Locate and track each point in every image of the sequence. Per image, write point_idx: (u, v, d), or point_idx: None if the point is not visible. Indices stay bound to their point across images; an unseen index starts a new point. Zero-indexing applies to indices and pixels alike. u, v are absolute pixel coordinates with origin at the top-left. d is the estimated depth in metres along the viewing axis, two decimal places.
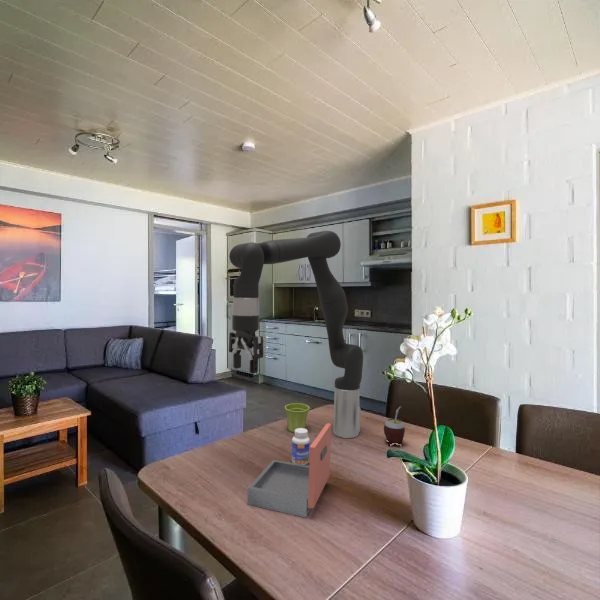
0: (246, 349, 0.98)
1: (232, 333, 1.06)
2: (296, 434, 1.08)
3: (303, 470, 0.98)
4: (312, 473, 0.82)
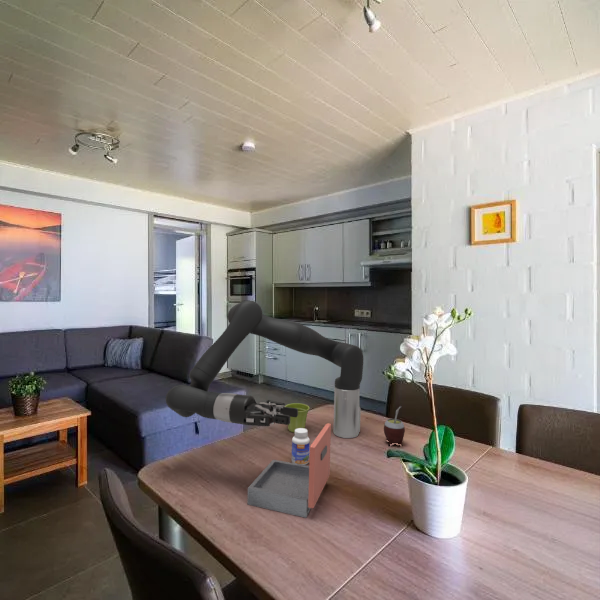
0: None
1: None
2: (296, 434, 1.08)
3: (303, 470, 0.98)
4: (312, 473, 0.82)
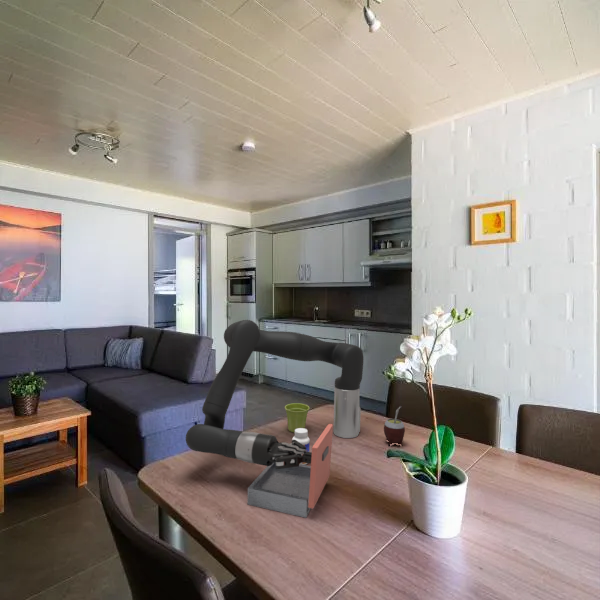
0: None
1: None
2: (296, 434, 1.08)
3: (303, 470, 0.98)
4: (313, 473, 0.82)
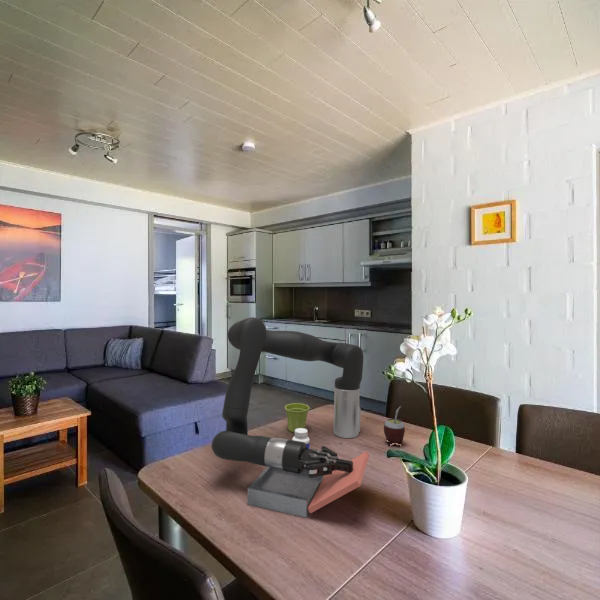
0: None
1: None
2: (296, 434, 1.08)
3: (303, 470, 0.98)
4: (337, 496, 0.80)
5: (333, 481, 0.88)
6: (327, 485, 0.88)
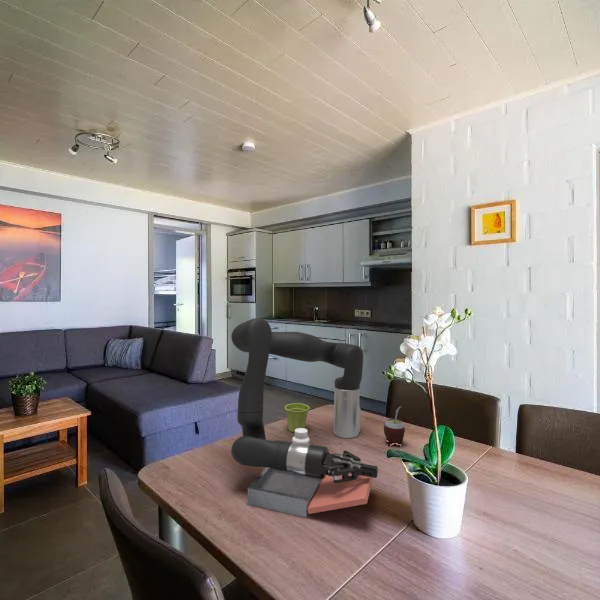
0: None
1: None
2: (296, 434, 1.08)
3: None
4: (340, 506, 0.80)
5: (335, 487, 0.88)
6: (328, 489, 0.88)
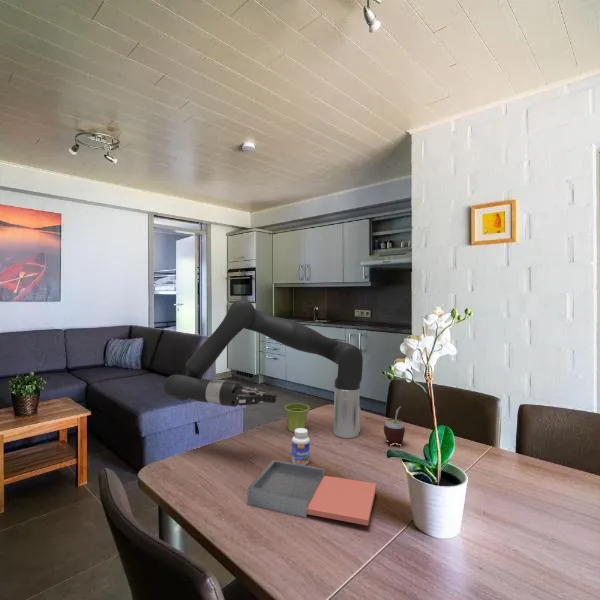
0: None
1: None
2: (296, 434, 1.08)
3: (303, 470, 0.98)
4: (340, 518, 0.80)
5: (336, 494, 0.88)
6: (329, 494, 0.88)
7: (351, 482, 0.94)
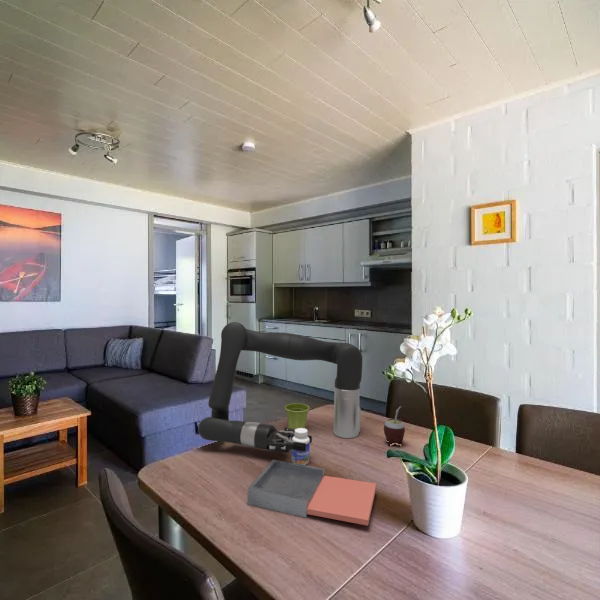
0: None
1: None
2: (296, 434, 1.08)
3: (303, 470, 0.98)
4: (340, 518, 0.80)
5: (336, 494, 0.88)
6: (329, 494, 0.88)
7: (351, 482, 0.94)
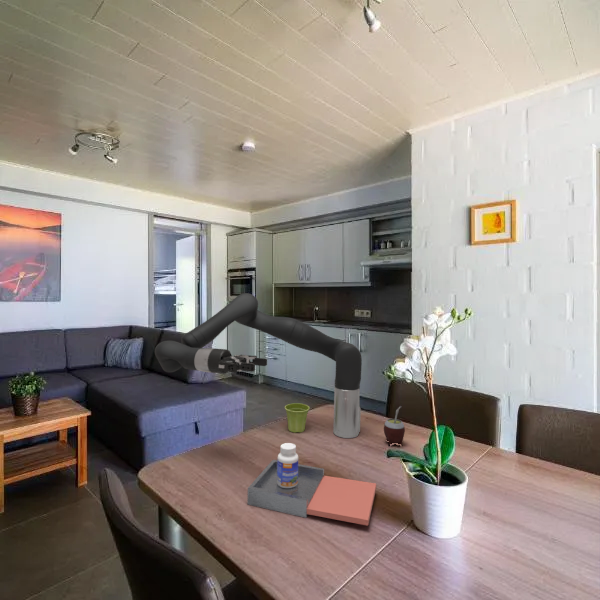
0: None
1: None
2: (282, 451, 0.91)
3: (303, 470, 0.98)
4: (340, 518, 0.80)
5: (336, 494, 0.88)
6: (329, 494, 0.88)
7: (351, 482, 0.94)
